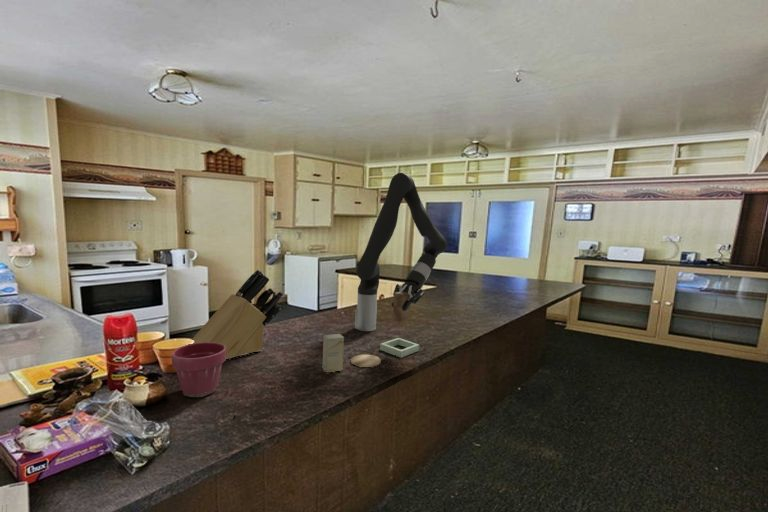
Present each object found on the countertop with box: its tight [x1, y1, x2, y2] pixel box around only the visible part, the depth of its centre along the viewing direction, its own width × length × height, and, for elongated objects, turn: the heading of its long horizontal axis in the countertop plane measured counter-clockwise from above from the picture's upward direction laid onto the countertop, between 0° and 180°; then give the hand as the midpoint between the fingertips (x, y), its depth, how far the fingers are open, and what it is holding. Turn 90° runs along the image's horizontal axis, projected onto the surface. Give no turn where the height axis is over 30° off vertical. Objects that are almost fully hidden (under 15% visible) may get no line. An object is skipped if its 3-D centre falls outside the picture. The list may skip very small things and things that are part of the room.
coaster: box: [350, 354, 382, 368], centre depth 136 cm, size 11×11×1 cm
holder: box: [379, 337, 420, 359], centre depth 149 cm, size 11×11×2 cm
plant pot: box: [171, 342, 227, 394], centre depth 109 cm, size 14×14×13 cm
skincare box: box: [321, 333, 345, 373], centre depth 127 cm, size 6×4×12 cm
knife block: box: [191, 269, 284, 358], centre depth 138 cm, size 11×35×31 cm, turn 137°
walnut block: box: [392, 292, 410, 323], centre depth 147 cm, size 4×4×11 cm
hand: (398, 308), depth 146 cm, fingers closed on walnut block, 4 cm apart
